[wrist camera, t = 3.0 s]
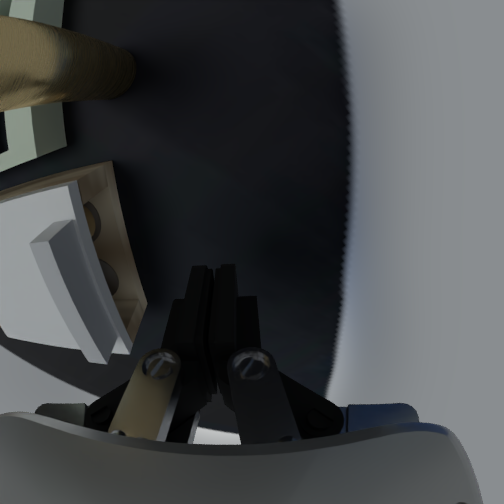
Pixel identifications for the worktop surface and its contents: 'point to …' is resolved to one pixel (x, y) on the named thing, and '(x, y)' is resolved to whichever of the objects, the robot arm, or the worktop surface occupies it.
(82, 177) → the tray
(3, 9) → the board
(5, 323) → the cover
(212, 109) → the worktop surface
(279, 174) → the worktop surface
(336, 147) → the worktop surface
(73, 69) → the pin
